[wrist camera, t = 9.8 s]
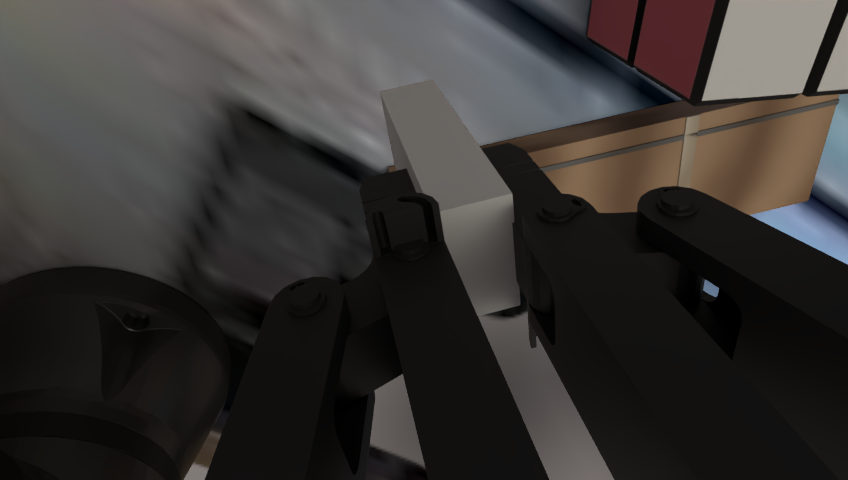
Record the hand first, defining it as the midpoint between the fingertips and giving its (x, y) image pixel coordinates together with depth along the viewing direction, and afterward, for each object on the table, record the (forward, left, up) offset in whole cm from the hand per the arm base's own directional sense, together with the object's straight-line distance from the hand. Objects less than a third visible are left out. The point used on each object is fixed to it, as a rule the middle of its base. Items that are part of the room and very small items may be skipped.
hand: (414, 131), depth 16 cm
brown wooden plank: (+13, -12, -13) cm, 22 cm away
